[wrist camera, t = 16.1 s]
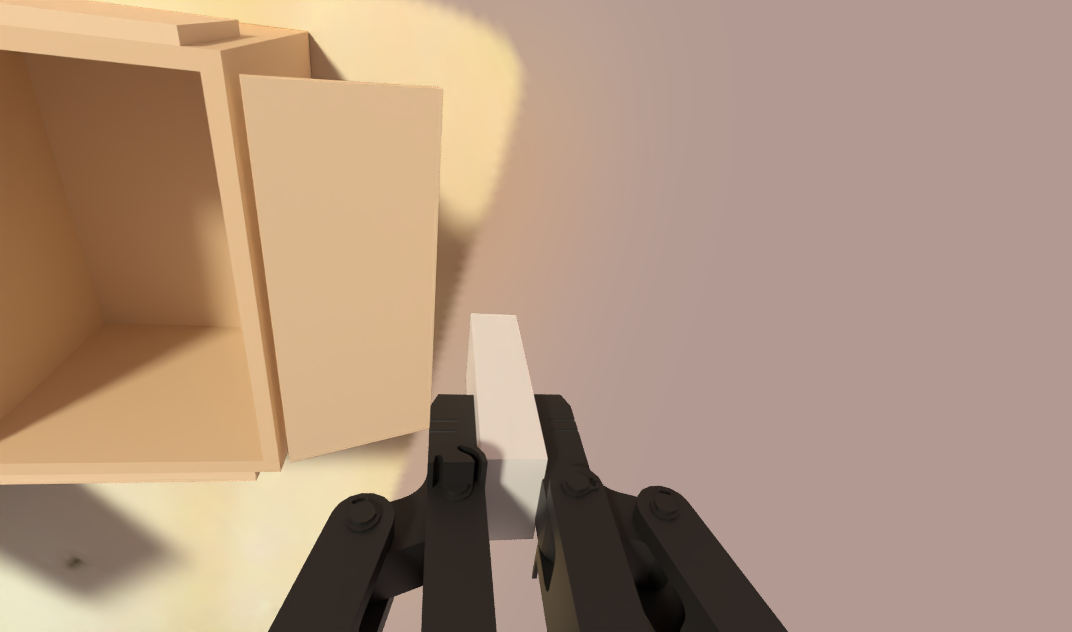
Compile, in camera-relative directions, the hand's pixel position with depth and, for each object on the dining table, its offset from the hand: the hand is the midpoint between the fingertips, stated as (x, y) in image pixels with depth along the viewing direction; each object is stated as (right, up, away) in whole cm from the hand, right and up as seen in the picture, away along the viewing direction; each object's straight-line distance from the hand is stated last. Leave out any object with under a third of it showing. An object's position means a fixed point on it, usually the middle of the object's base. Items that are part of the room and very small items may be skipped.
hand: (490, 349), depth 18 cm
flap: (-8, +2, +1) cm, 8 cm away
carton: (-16, +7, +9) cm, 19 cm away
